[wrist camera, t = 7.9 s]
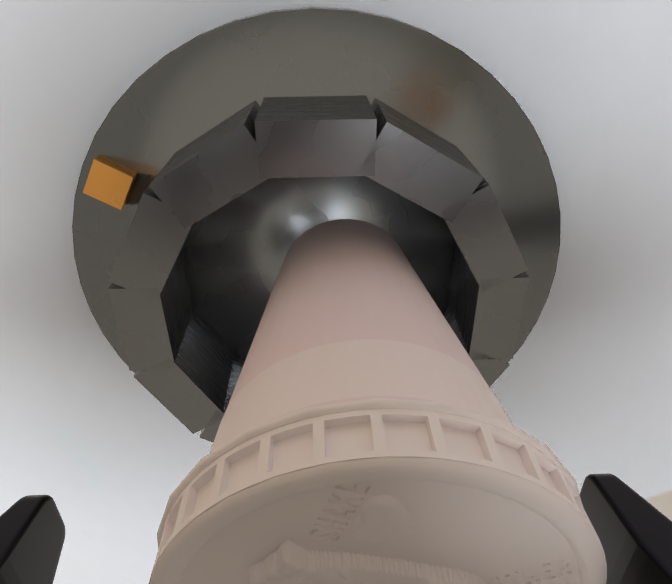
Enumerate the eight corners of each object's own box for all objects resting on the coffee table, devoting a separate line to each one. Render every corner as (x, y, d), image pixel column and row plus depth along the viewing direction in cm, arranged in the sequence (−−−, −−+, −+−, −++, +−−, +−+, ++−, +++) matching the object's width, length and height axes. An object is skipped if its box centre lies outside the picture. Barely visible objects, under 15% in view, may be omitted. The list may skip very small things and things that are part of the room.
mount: (655, 179, 15) (728, 223, 12) (391, 477, 21) (401, 549, 18) (186, -130, 11) (146, -164, 8) (28, 345, 17) (-24, 412, 14)
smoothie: (345, 393, 18) (409, 1245, 6) (189, 282, 15) (-243, 1343, 3) (496, 271, 16) (1099, 1244, 4) (341, 118, 13) (619, 1537, 1)
